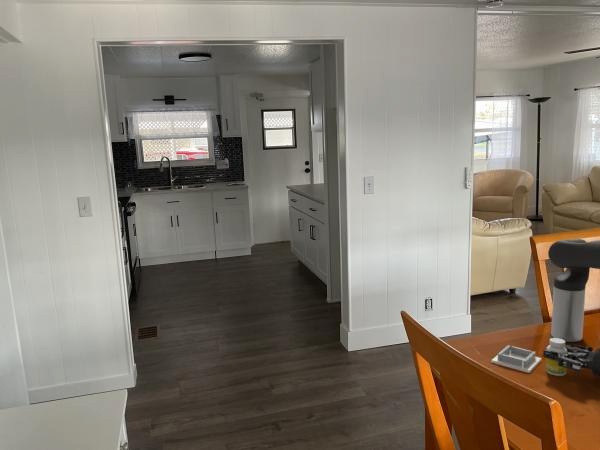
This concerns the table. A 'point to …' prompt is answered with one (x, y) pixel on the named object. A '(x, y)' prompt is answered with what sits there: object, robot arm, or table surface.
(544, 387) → the table surface
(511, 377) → the table surface
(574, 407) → the table surface
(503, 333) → the table surface
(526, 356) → the caddy
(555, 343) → the supplement bottle
